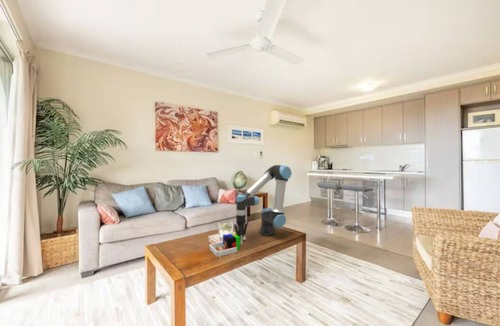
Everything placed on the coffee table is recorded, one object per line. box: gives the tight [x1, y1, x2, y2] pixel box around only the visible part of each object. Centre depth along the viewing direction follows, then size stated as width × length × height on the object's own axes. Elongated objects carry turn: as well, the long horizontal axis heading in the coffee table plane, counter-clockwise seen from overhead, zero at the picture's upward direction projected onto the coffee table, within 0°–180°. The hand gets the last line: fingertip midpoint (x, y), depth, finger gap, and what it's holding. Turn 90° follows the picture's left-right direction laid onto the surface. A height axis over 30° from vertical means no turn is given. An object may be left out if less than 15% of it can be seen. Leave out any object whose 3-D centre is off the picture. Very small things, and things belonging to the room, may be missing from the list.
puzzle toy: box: [222, 232, 241, 251], centre depth 169 cm, size 10×10×10 cm
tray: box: [208, 241, 238, 258], centre depth 166 cm, size 16×16×4 cm
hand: (240, 243), depth 174 cm, fingers closed
